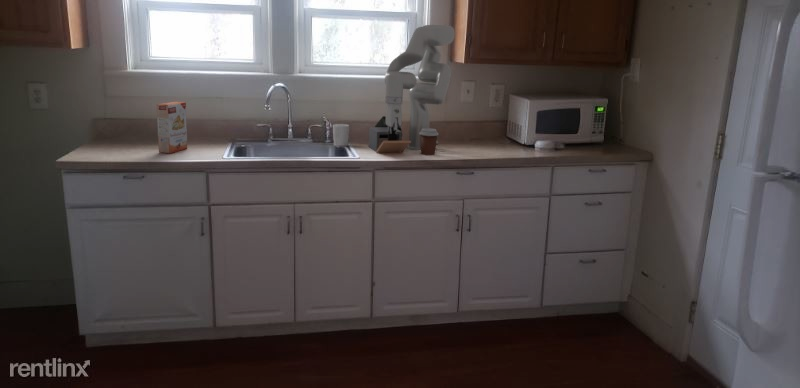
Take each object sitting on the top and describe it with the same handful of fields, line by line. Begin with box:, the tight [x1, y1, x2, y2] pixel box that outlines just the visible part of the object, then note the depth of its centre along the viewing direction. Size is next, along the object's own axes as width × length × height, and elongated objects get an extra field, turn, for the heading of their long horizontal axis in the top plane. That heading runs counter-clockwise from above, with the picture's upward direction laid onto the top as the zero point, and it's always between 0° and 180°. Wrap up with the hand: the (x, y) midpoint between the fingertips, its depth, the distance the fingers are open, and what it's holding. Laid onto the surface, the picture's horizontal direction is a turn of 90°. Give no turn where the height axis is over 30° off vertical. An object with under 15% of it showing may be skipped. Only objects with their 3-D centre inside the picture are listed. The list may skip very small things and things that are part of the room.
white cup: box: [332, 123, 350, 147], centre depth 291 cm, size 8×8×10 cm
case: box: [368, 126, 403, 153], centre depth 283 cm, size 12×14×10 cm
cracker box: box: [156, 101, 188, 154], centre depth 261 cm, size 14×6×21 cm, turn 168°
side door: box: [375, 140, 411, 154], centre depth 271 cm, size 13×1×13 cm
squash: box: [374, 115, 403, 132], centre depth 299 cm, size 14×15×15 cm
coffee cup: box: [419, 127, 440, 156], centre depth 276 cm, size 9×9×12 cm
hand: (391, 142), depth 267 cm, fingers closed
